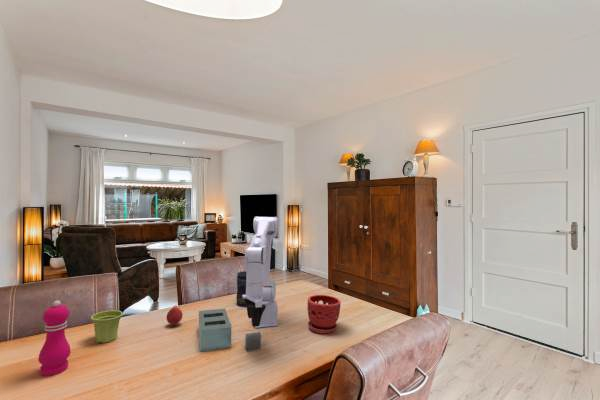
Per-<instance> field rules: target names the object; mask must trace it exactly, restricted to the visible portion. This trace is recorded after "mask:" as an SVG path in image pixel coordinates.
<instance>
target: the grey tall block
mask: <svg viewBox="0 0 600 400" xmlns="http://www.w3.org/2000/svg"><path fill="white" fill-rule="evenodd" d="M244 335H245V341H244V350H245V351H246V352H249V351H257V350H261V349H262V334H261V332H260V331H258V332H249V333H245V334H244Z"/></svg>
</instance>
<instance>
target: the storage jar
mask: <svg viewBox="0 0 600 400" xmlns="http://www.w3.org/2000/svg"><path fill="white" fill-rule="evenodd" d="M236 274H237V276H236V286H237V288H236V289H237V291H236V297H235V299H236V303H235V305H236V306H237V307H239V308H247V307H246V303H245V300H244V298H243V297H242V295H245V294H246V275H247V270H246V271H239V272H237V273H236Z"/></svg>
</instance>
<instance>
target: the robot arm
mask: <svg viewBox="0 0 600 400" xmlns="http://www.w3.org/2000/svg"><path fill="white" fill-rule="evenodd" d="M252 226H253V231H254V235H253V236H252V238H251V241H250V244H249V246H248V247H246V248H245V250H244V251H245V253H244V260H245V269H246V271H247V275H246V294H245V295H242V297H243V298H244V300H245V303H246V307H245V308H246V311H247V317H248V319H251V320H250V321H251V324H252V327H254V328H255V329H260V328H267V327H274V326H279V324H278V315H279V313H278V303H277V301H276V292H277V291H276V289H277V287H276V282H275V281H274V280H273V279H272V278H271V277H270V273H271V272H270V271H271V256H272V243H273V239H274V238H277V237H278V236H277V235H278V229H279V219H278V216H257V215H256V216H254V218H253V223H252Z"/></svg>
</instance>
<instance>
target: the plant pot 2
mask: <svg viewBox="0 0 600 400" xmlns="http://www.w3.org/2000/svg"><path fill="white" fill-rule="evenodd" d="M319 302H322V303H319ZM340 311H341V300H340V299H339V298H337V297H335V296H333V295H325V294H314V295H310V296H309V297H308V298H307V316H308V319H309V321H308V322H307V326H308V328H309V329H310V330H311V331H312V332H315V333H317V334H330V333H333V332H334V331H335V330H336V329H337V327H338V326H337V322H338V320H339V317H340V313H341V312H340Z"/></svg>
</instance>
